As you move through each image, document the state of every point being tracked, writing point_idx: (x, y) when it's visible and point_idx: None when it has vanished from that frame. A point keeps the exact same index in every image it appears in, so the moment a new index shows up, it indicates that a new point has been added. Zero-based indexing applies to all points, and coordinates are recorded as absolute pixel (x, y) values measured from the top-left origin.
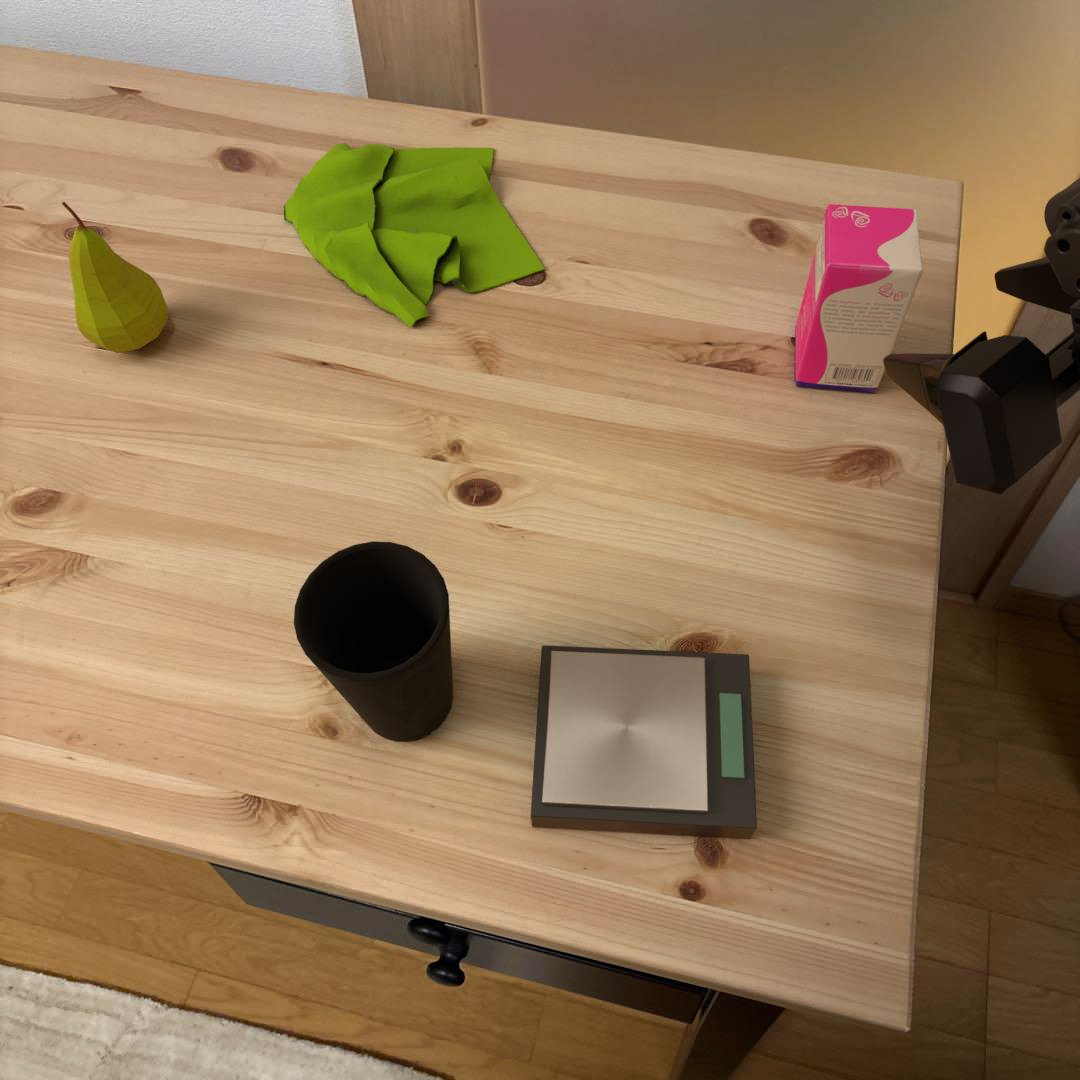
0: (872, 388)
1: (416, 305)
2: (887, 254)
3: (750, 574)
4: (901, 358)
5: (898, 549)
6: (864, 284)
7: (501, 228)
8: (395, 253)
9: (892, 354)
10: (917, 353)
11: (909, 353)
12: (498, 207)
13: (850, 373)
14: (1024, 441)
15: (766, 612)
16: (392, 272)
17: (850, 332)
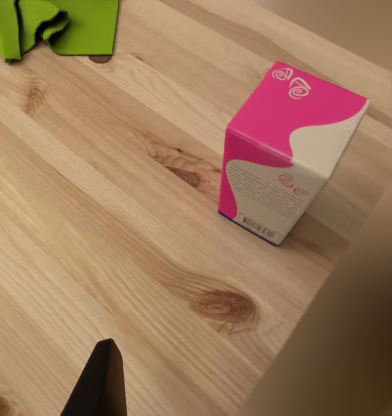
0: (273, 243)
1: (14, 49)
2: (299, 141)
3: (74, 363)
4: (81, 389)
5: (204, 406)
6: (263, 164)
7: (106, 18)
8: (24, 10)
9: (107, 348)
10: (94, 414)
11: (99, 389)
12: (114, 4)
13: (256, 226)
14: None
15: (61, 407)
16: (16, 22)
17: (253, 199)
